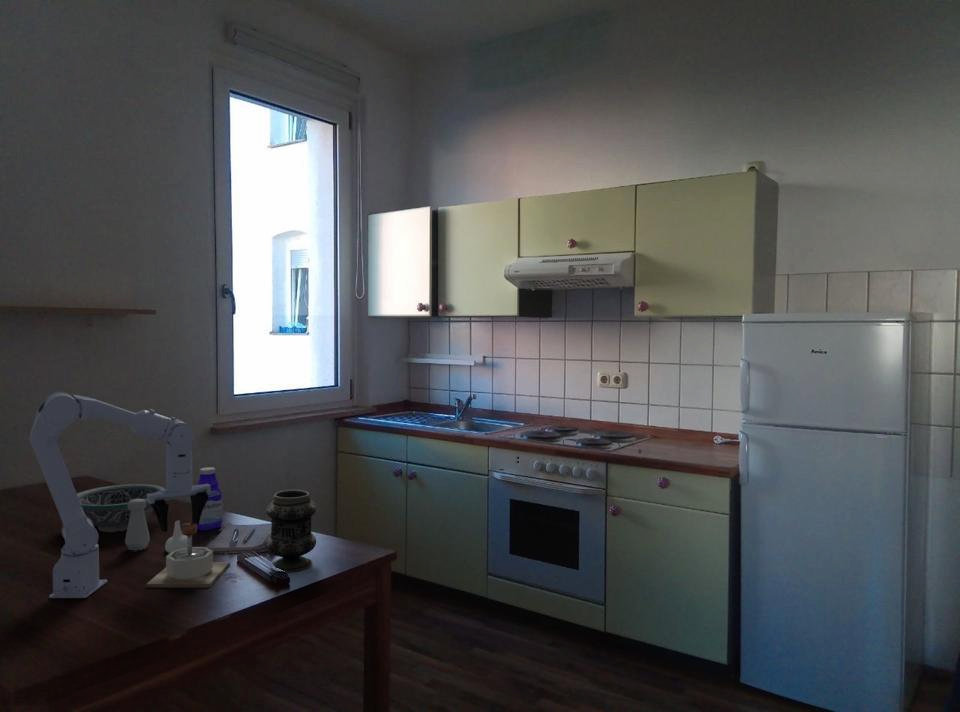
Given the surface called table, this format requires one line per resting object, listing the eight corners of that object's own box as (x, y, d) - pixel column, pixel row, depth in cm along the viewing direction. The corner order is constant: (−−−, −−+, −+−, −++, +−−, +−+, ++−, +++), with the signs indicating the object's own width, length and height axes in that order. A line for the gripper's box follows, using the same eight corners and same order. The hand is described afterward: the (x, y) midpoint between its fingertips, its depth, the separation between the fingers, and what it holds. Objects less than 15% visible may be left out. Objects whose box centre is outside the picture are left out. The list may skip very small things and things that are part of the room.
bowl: (164, 535, 193) (163, 501, 193) (61, 545, 184) (60, 509, 183) (168, 511, 216) (168, 481, 216) (77, 519, 207) (76, 487, 207)
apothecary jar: (326, 562, 173) (326, 491, 172) (290, 578, 163) (290, 502, 162) (291, 553, 179) (291, 485, 178) (255, 568, 169) (254, 495, 168)
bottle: (202, 533, 195) (201, 472, 194) (191, 529, 199) (190, 469, 198) (225, 527, 201) (225, 467, 200) (214, 523, 204) (214, 465, 204)
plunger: (198, 560, 160) (198, 528, 159) (170, 560, 160) (169, 528, 159) (208, 551, 166) (208, 520, 166) (181, 551, 166) (181, 520, 166)
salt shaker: (139, 553, 178) (138, 503, 177) (120, 551, 179) (119, 502, 179) (154, 546, 184) (153, 497, 183) (135, 544, 185) (134, 496, 184)
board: (209, 587, 156) (209, 583, 156) (146, 587, 156) (146, 583, 156) (229, 565, 170) (229, 562, 170) (172, 565, 170) (172, 561, 170)
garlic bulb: (191, 547, 185) (191, 517, 185) (191, 552, 179) (190, 521, 179) (165, 550, 183) (165, 519, 183) (164, 555, 177) (164, 524, 177)
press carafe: (202, 580, 159) (202, 560, 158) (161, 579, 158) (160, 560, 158) (217, 565, 168) (217, 547, 168) (178, 565, 168) (177, 547, 167)
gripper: (201, 464, 173) (201, 517, 174) (141, 473, 163) (142, 530, 164) (214, 468, 169) (215, 523, 169) (153, 478, 158) (154, 537, 159)
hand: (180, 527), depth 166 cm, fingers open, 7 cm apart
